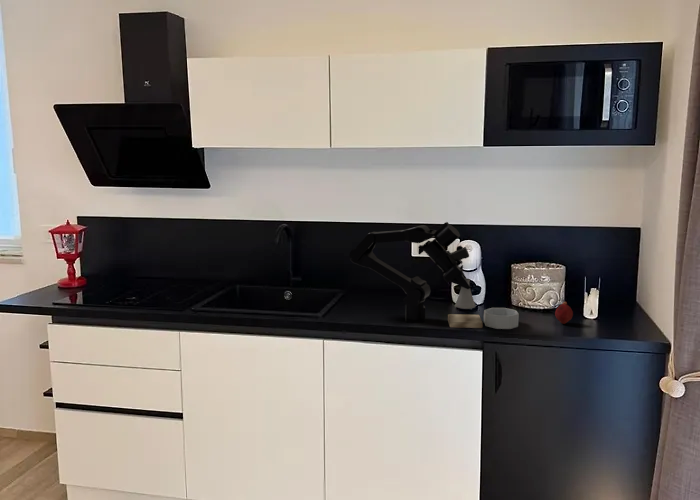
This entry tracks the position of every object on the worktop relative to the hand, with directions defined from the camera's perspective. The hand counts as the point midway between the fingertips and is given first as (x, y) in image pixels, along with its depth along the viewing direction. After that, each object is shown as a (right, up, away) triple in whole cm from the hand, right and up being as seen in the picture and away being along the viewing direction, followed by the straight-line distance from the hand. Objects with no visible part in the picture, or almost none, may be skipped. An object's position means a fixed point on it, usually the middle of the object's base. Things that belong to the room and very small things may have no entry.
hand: (469, 287), depth 222 cm
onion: (+33, -13, +2) cm, 36 cm away
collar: (+11, -13, +1) cm, 17 cm away
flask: (-1, -7, +2) cm, 7 cm away
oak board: (-1, -13, +2) cm, 13 cm away
